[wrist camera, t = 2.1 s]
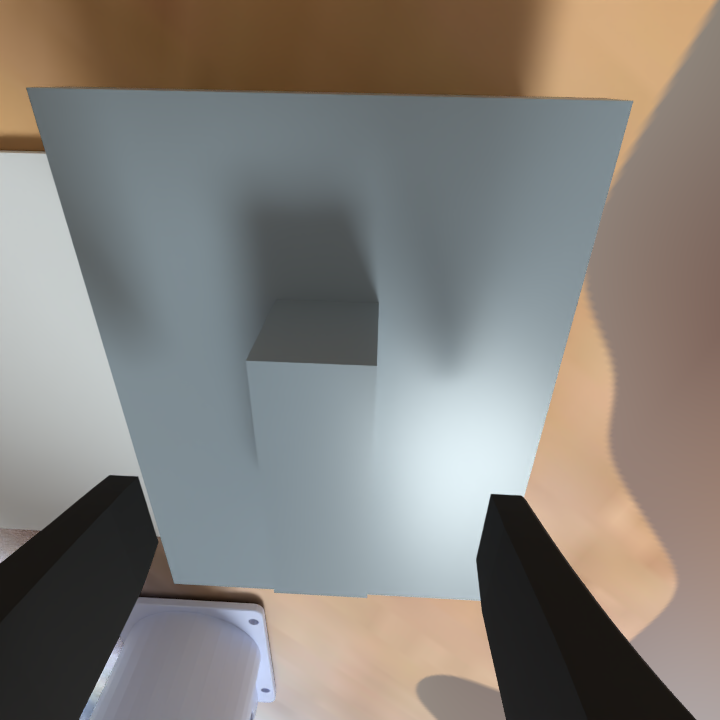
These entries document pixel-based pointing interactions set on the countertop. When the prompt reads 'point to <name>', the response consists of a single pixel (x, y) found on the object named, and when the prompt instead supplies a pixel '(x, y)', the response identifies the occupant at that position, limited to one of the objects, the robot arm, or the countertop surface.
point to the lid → (330, 314)
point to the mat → (50, 360)
